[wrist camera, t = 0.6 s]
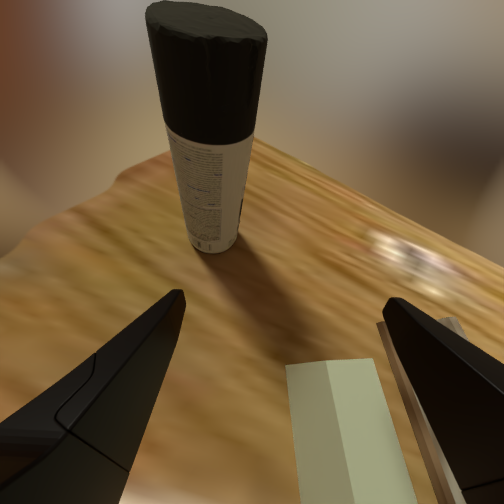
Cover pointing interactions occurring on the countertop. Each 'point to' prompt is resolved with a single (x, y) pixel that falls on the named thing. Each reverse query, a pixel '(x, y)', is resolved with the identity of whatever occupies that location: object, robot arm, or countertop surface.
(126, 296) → the countertop surface
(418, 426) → the bottom track
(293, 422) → the pale green rectangular block
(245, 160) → the spray can
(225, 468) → the countertop surface
